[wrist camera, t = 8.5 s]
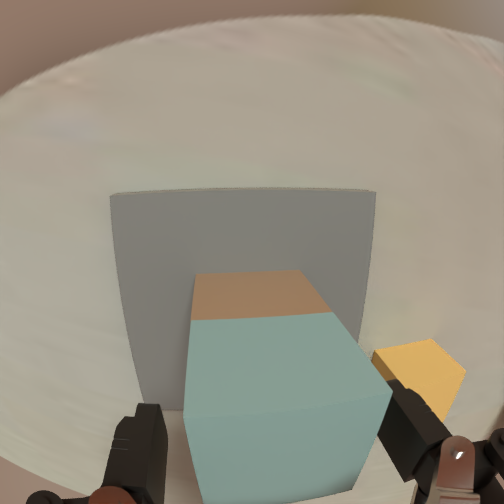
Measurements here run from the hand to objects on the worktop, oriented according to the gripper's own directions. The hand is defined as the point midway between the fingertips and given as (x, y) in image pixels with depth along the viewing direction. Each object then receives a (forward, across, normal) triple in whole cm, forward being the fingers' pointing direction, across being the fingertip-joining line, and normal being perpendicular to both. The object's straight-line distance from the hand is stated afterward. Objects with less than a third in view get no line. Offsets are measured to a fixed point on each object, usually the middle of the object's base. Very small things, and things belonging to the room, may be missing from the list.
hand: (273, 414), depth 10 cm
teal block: (+3, 0, 0) cm, 3 cm away
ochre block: (+9, -12, +7) cm, 16 cm away
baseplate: (+9, 0, 0) cm, 9 cm away
